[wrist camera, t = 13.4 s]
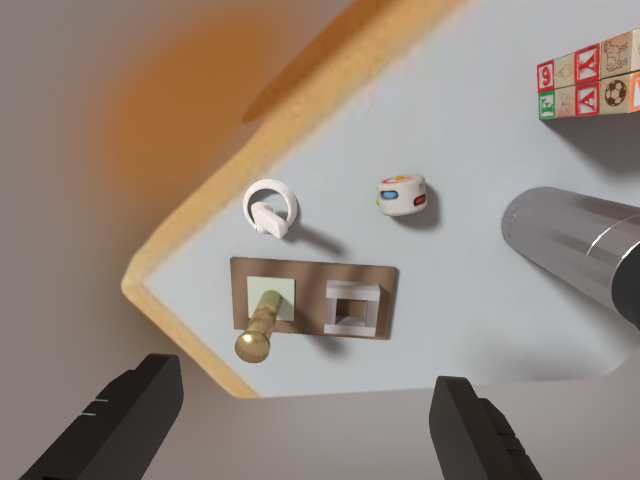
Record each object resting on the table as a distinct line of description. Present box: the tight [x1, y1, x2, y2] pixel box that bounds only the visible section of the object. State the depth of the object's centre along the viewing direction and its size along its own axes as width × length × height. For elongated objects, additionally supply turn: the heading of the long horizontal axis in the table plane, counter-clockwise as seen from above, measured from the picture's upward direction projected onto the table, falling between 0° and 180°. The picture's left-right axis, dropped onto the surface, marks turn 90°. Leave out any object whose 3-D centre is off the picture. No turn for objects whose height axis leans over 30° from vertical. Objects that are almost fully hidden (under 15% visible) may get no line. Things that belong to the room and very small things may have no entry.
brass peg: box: [235, 290, 282, 363], centre depth 40 cm, size 4×4×11 cm
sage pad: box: [247, 276, 295, 321], centre depth 45 cm, size 7×7×1 cm
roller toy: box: [376, 175, 427, 216], centre depth 37 cm, size 4×6×6 cm
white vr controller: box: [243, 179, 297, 238], centre depth 39 cm, size 8×12×7 cm
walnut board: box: [230, 257, 396, 340], centre depth 44 cm, size 24×12×4 cm, turn 88°
